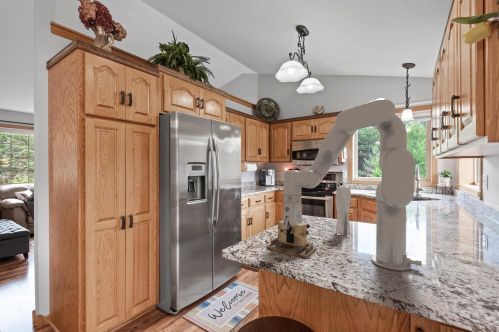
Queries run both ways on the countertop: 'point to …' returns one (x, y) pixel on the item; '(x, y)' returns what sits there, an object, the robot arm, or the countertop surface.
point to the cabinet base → (292, 249)
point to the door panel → (298, 232)
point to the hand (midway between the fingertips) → (291, 241)
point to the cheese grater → (343, 209)
